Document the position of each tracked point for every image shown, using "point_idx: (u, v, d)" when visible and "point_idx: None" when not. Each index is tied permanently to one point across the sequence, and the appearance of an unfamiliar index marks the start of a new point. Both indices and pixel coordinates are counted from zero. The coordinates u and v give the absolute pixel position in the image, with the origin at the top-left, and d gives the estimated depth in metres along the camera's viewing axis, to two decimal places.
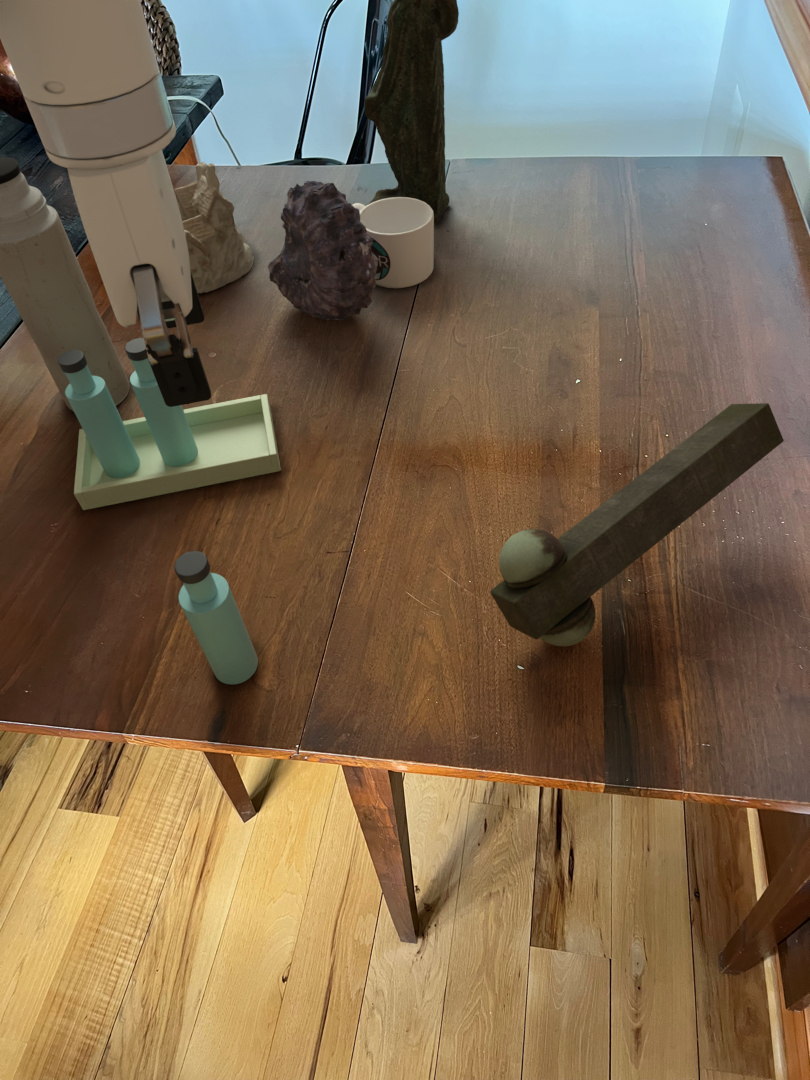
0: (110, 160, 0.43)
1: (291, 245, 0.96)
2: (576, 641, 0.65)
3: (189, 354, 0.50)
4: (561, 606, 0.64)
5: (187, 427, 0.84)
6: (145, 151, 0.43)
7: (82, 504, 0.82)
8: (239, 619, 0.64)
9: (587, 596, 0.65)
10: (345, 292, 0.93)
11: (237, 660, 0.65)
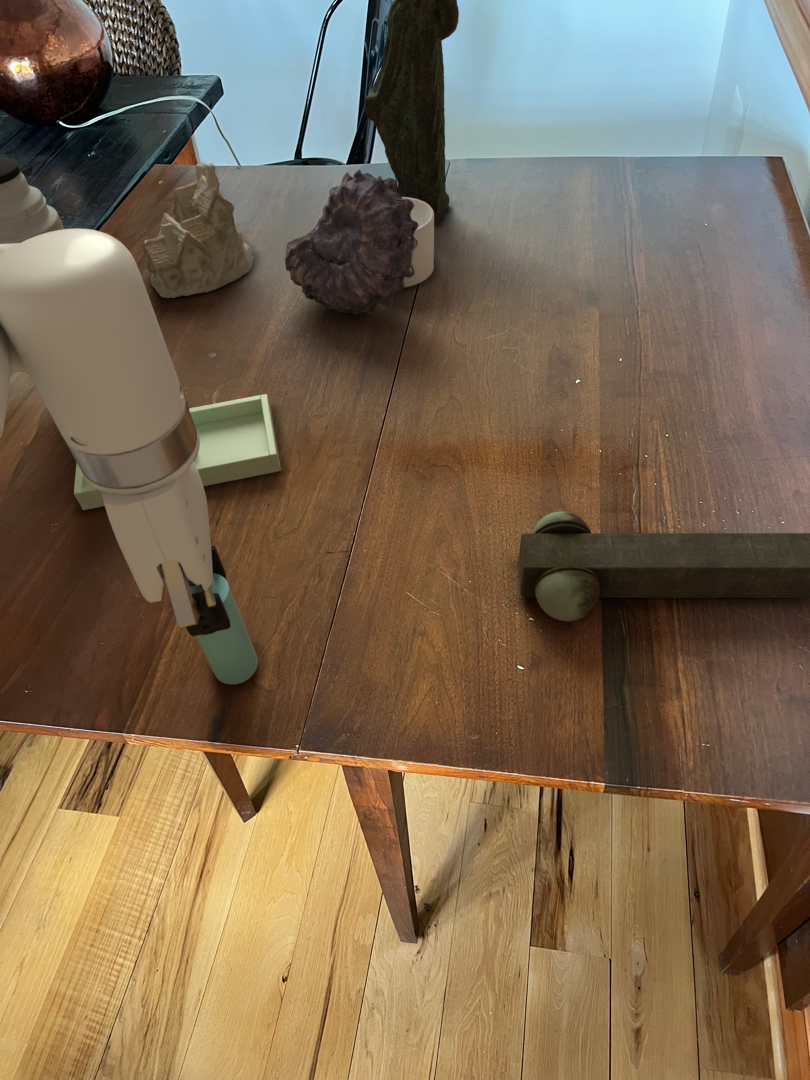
0: (141, 487, 0.47)
1: (328, 227, 0.96)
2: (562, 592, 0.66)
3: (213, 606, 0.57)
4: (561, 558, 0.68)
5: None
6: (172, 476, 0.47)
7: (82, 504, 0.82)
8: (239, 619, 0.64)
9: (591, 565, 0.68)
10: (386, 281, 0.95)
11: (237, 660, 0.65)
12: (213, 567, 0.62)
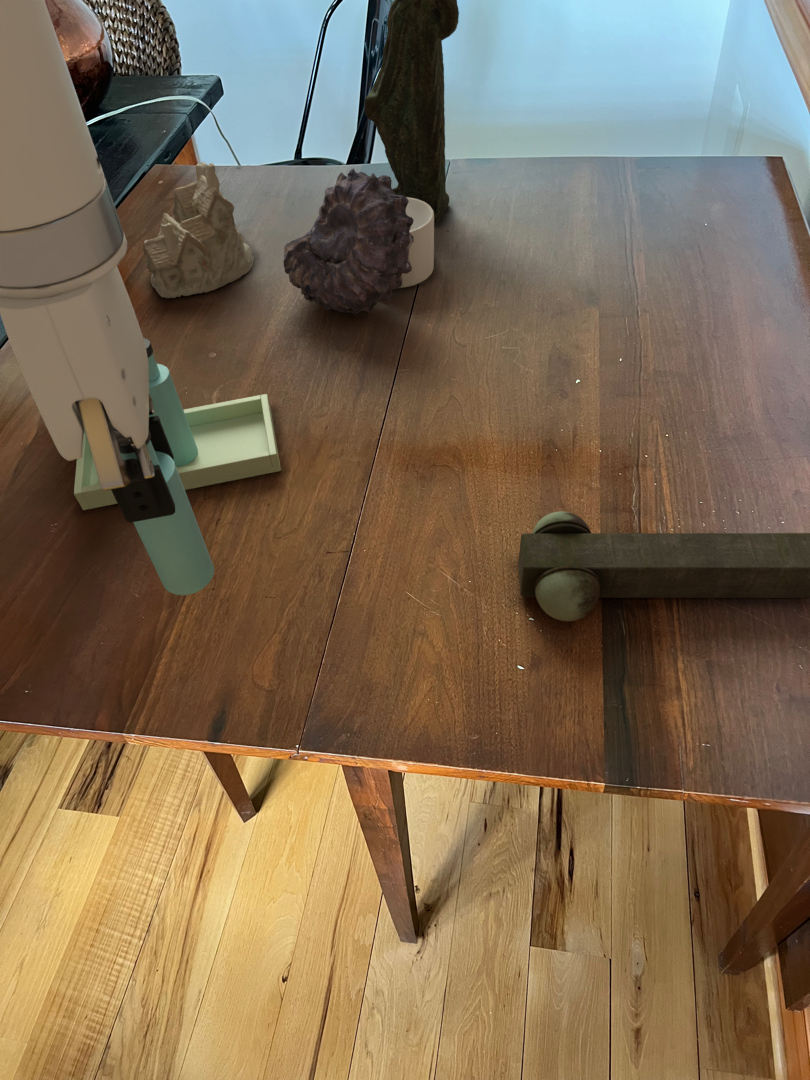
0: (46, 288, 0.36)
1: (325, 227, 0.96)
2: (562, 592, 0.66)
3: (151, 477, 0.46)
4: (561, 558, 0.68)
5: (187, 427, 0.84)
6: (88, 277, 0.37)
7: (82, 504, 0.82)
8: (189, 510, 0.53)
9: (591, 565, 0.68)
10: (383, 277, 0.94)
11: (188, 562, 0.55)
12: (157, 443, 0.52)
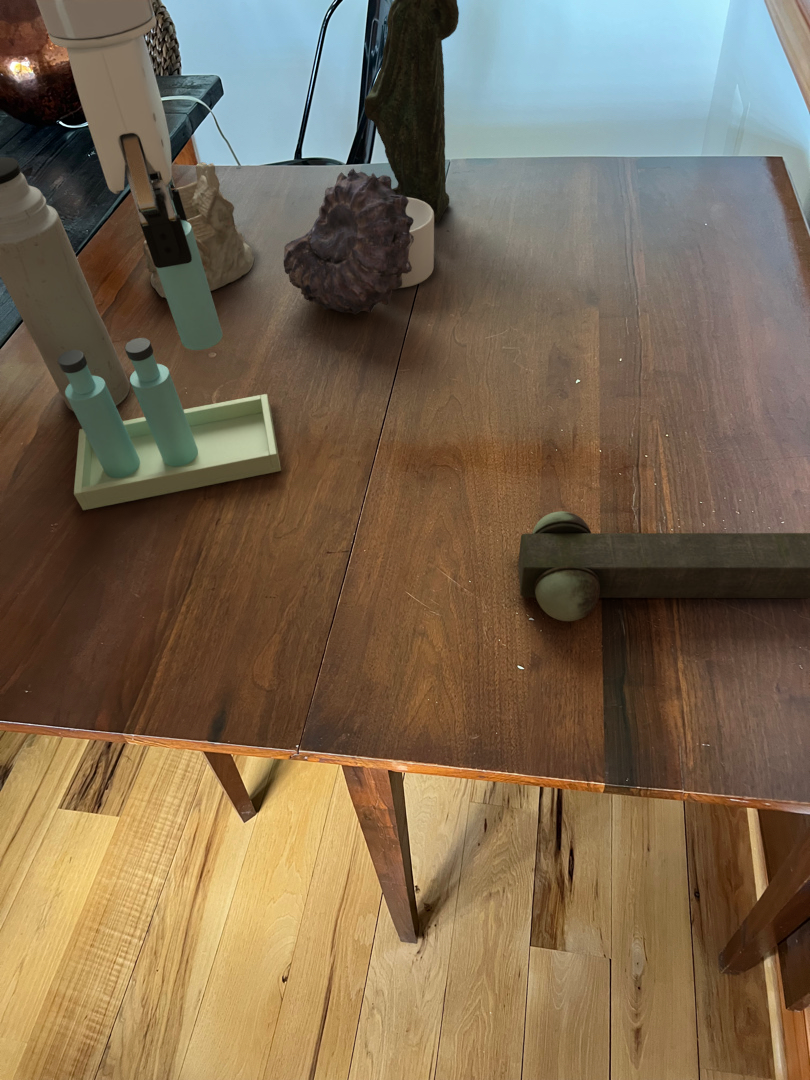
0: (101, 40, 0.52)
1: (325, 227, 0.96)
2: (562, 592, 0.66)
3: (174, 220, 0.62)
4: (561, 558, 0.68)
5: (187, 427, 0.84)
6: (130, 34, 0.53)
7: (82, 504, 0.82)
8: (202, 269, 0.69)
9: (591, 565, 0.68)
10: (383, 277, 0.94)
11: (202, 316, 0.71)
12: (177, 213, 0.68)
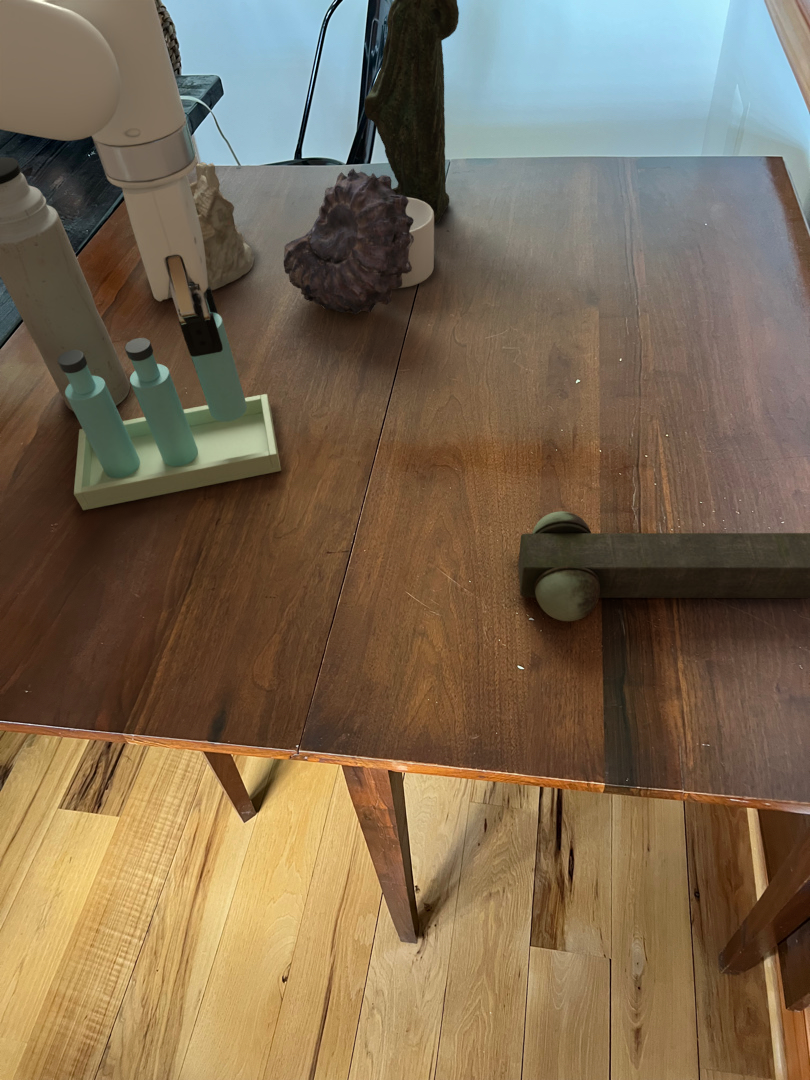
0: (152, 182, 0.61)
1: (325, 227, 0.96)
2: (562, 592, 0.66)
3: (208, 319, 0.71)
4: (561, 558, 0.68)
5: (187, 427, 0.84)
6: (176, 176, 0.62)
7: (82, 504, 0.82)
8: (231, 354, 0.78)
9: (591, 565, 0.68)
10: (383, 277, 0.94)
11: (230, 394, 0.80)
12: (209, 306, 0.77)
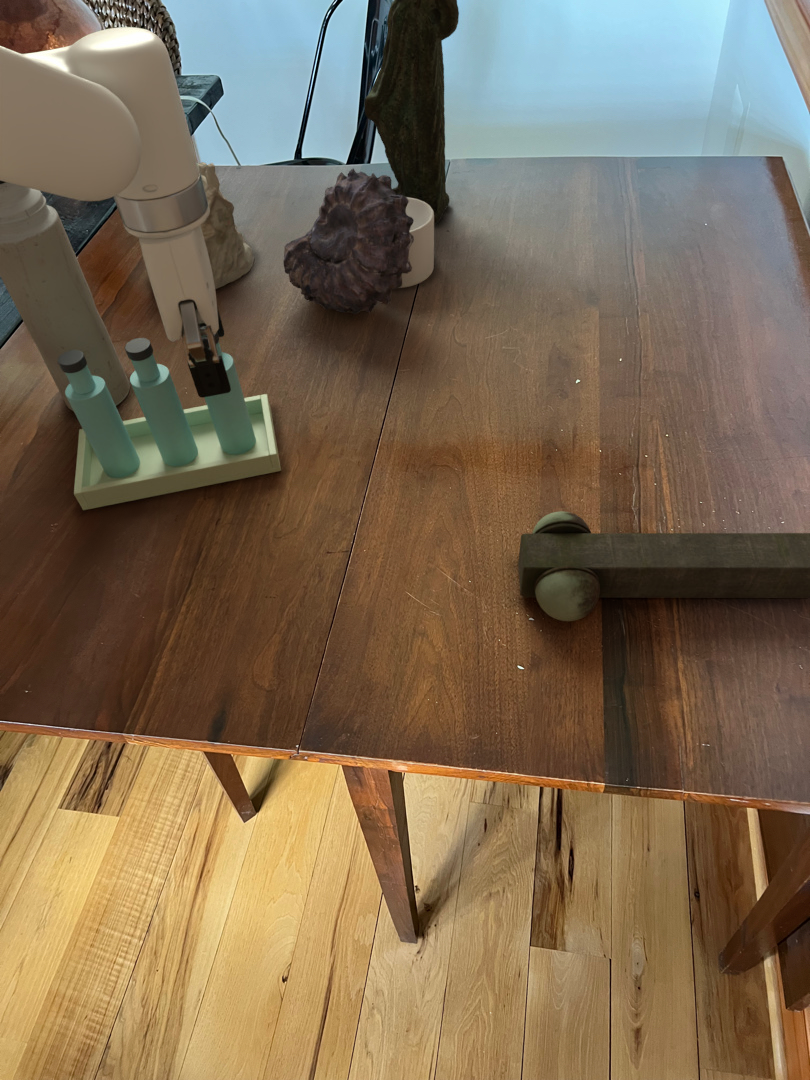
0: (167, 232, 0.65)
1: (325, 227, 0.96)
2: (562, 592, 0.66)
3: (216, 360, 0.72)
4: (561, 558, 0.68)
5: (187, 427, 0.84)
6: (190, 226, 0.65)
7: (82, 504, 0.82)
8: (241, 392, 0.82)
9: (591, 565, 0.68)
10: (383, 277, 0.94)
11: (240, 429, 0.84)
12: None
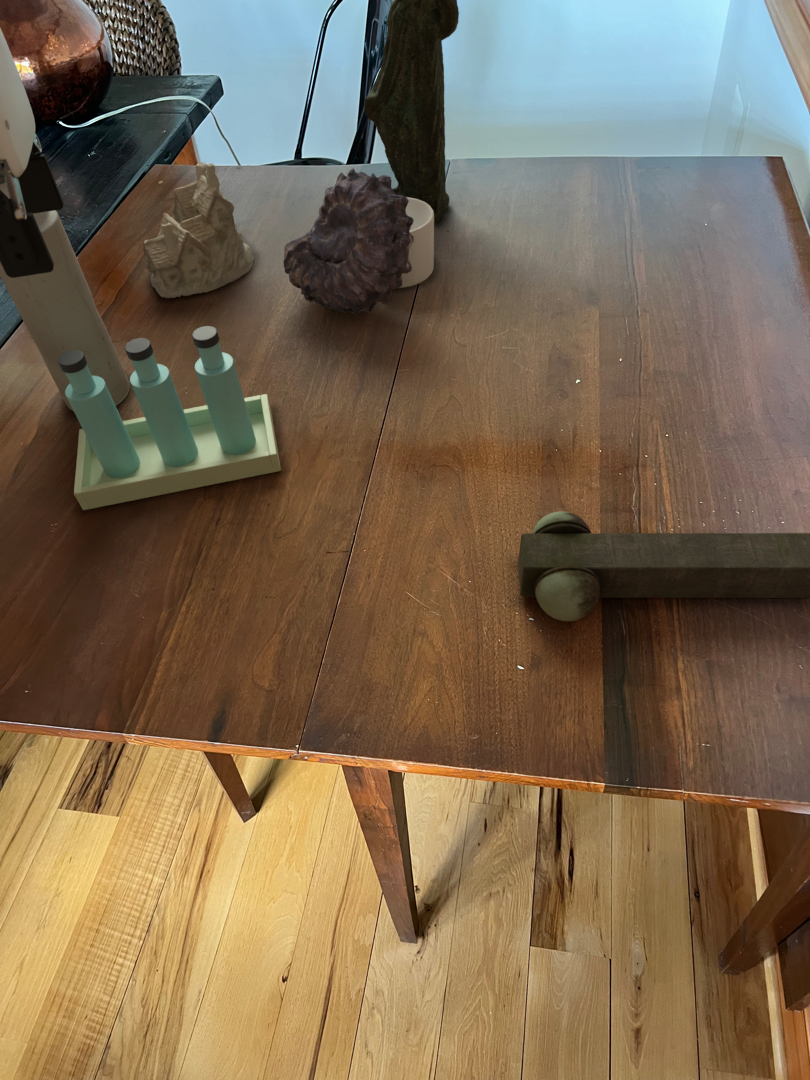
0: None
1: (325, 227, 0.96)
2: (562, 592, 0.66)
3: (20, 215, 0.50)
4: (561, 558, 0.68)
5: (187, 427, 0.84)
6: None
7: (82, 504, 0.82)
8: (241, 392, 0.82)
9: (591, 565, 0.68)
10: (383, 277, 0.94)
11: (240, 429, 0.84)
12: (45, 182, 0.59)
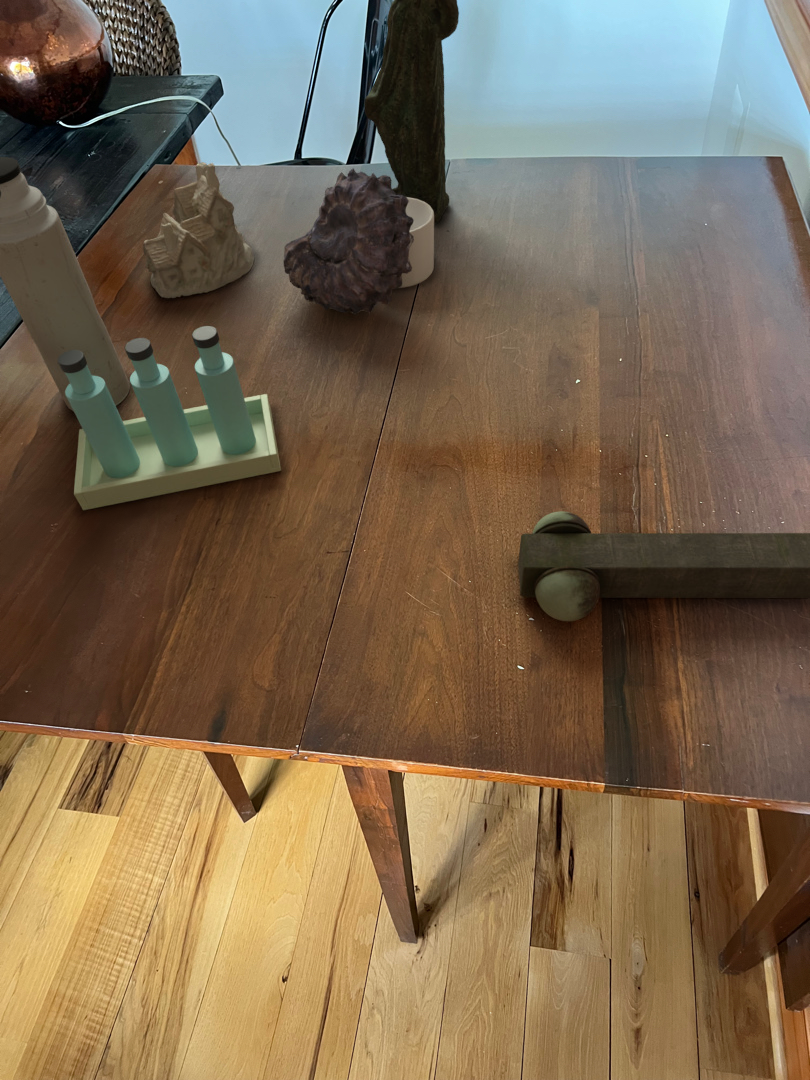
0: None
1: (325, 227, 0.96)
2: (562, 592, 0.66)
3: None
4: (561, 558, 0.68)
5: (187, 427, 0.84)
6: None
7: (82, 504, 0.82)
8: (241, 392, 0.82)
9: (591, 565, 0.68)
10: (383, 277, 0.94)
11: (240, 429, 0.84)
12: None
